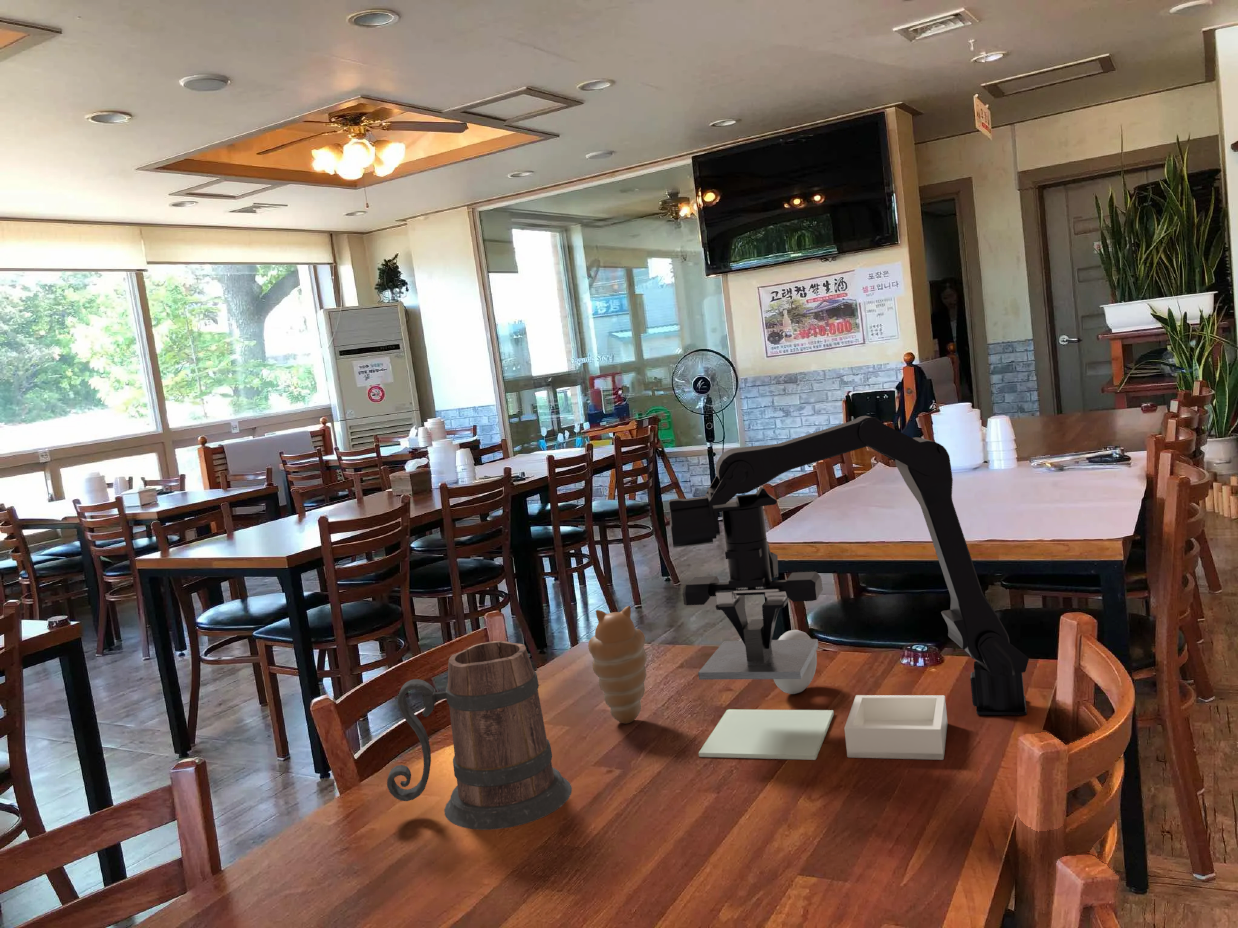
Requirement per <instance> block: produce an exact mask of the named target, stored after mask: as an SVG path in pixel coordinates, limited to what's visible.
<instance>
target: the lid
mask: <svg viewBox="0 0 1238 928" xmlns="http://www.w3.org/2000/svg"><path fill="white" fill-rule="evenodd" d="M743 631H744V639H745V645H744V643H743V641H742V640H724V641H723V642H722V643H720V645H719V646H718V647H717V649H716V650H715V651H714V652H713V653H712V655H711V656H710V657H709V659H707V661H706V663H704V664H703V666H702V667H701V668H700V670H699V671H698V672H697V674H698V675H697V676H698V680H700V681H701V680H703V681H704V680H773V679H801V678H802V676H803V674H804V672H805V670H806V669H807V667H808V665H809V663H810V661H811V659H812V657H813V655H814V653H815V651H816V652H817V649H818V647H819V641H818V640H819V639H817V638H811V639H802V640H778V639H772V642H771V646H770V648H769V649H766V645H765V640H764V627H763V618H757V619H756V618H755V619H754V618H753V619H750V621H749V622H748V625H747V626H746V627H745V628H744V630H743Z"/></svg>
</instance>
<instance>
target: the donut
mask: <svg viewBox="0 0 1238 928" xmlns="http://www.w3.org/2000/svg"><path fill="white" fill-rule="evenodd" d="M802 639H812V638H811V637H810V636H809V635H808V634H807V632H804V631H801V630H798V629H792V630H788V631H785V632H784V633H782V635H780V636H779V638H778V639H777V640H802ZM817 657H818V654H817V650H816V651H815V653H814V655H813V657H812V659H811V661H810V663H809V665H808V667H807V669H806V670H805V672H804V674H803V676H802V678H801V679H772V680H773V682H774V684H775V685H776V686H777V688H778V689H779V690H780V691H781V692H783V693H786V694H790V695H796V694H799V693H802V692H803V691H804V690H805V689H807V688H808V687H809V685H811V683H812V681H813V679H814V676H815V673H816V669H817V665H818V661H817V660H818V659H817Z"/></svg>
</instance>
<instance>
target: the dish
mask: <svg viewBox="0 0 1238 928" xmlns="http://www.w3.org/2000/svg"><path fill="white" fill-rule="evenodd" d="M946 703H947V702H946V695H942V694H941V695H940V694H939V695H937V694H936V695H935V694H933V695H928V694H927V695H926V694H925V695H923V694H918V695H915V694H913V695H912V694H908V695H906V694H905V695H903V694H900V695H898V694H897V695H896V694H894V695H893V694H892V695H890V694H888V695H886V694H885V695H883V694H882V695H880V694H877V695H875V694H874V695H873V694H869V695H867V694H856V695H855V697H854V700H853V703H852V704H851V708H850V711H849V714H848V717H847V719H846V723H845V725H844V736H845V747H846V748H845V749H846V756H847V758H851V759H852V758H853V759H854V758H857V759H892V760H893V759H896V760H897V759H898V760H899V759H901V760H902V759H903V760H934V761H935V760H936V761H937V760H939V761H943V760H944V758H945V750H946V740H947V730H948V725H949V724H948V715H947V714H948V713H947V705H946Z"/></svg>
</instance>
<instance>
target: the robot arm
mask: <svg viewBox="0 0 1238 928" xmlns="http://www.w3.org/2000/svg"><path fill="white" fill-rule="evenodd" d="M867 447H868V448H870V449H872V450H873V451H875V452H877V453H879V454H880V455H883V456H884V457H887V458H888V459H890V460H892V461H894V462H895V466H896V468H897V470H898V472H899V473H900V475H901V477H902V479H903V481H904V483H905V484H906V486H907V488H908V489H909V491H910V492H911V494H912V495H913V496H914V498H915V499H916V501H917V502H918V504H919V505H920V509H921V511H922V515H923V517H924V520H925V523H926V526H927V529H928V532H929V536H930V539H931V541H932V544H933V547H934V550H935V553H936V556H937V559H938V563H939V566H940V568H941V572H942V574H943V578H944V581H945V584H946V587H947V589H948V592H949V597H950V608H949V609H947V610H942V611H941V612H940V613H941V615H942V618H943V619H944V621H945V623H946V625H947V630H948V631H947V632H948V633H947V636H948V638H949V639H951V641H953V642H954V643H956V645H958V646H959V647H960V648H961V649H962V650H964V651H965V652H966V653H967V654H968V655H969V656H970V658H971V659H973V660H975V661H973V671H972V672H970V679H969V680H970V689H971V690H970V691H971V701H972V706H974V707H976V708H975V709H976V714H977V716H978V715H981V716H1026V715H1027V713H1028V712H1027V698H1026V696H1025V688H1024V677H1023V673H1025V672H1026V671H1027V669H1028V664H1029V659H1030V658H1029V657H1028V655H1026V654H1025V653H1024V652H1023V651H1021V650H1020V649H1018V648H1017V647H1015V646H1014V645H1013V644H1011V643H1010V642H1011V641H1010V637H1009V634H1008V632H1007V630H1006V629H1005V626H1004V624H1003V623H1002V621H1001V619H1000V617H999V616H998V614H997V612H996V611H995V609H994V608H993V606H992V605H991V603H990V602H989V601H988V599H987V598H986V596H985V594H984V592H983V590H982V587H981V584H980V580H979V578H978V574H977V571H976V569H975V568H976V567H975V565H974V563H973V559H972V556H971V554H970V550H969V547H968V544H967V541H966V538H965V535H964V533H963V529H962V527H961V523H960V520H959V517H958V515H957V514H958V513H957V511H956V508H955V506H954V502H953V485H954V483H953V481H954V479H953V472H952V465H951V458H950V454H949V452H948V451H947V448H945V446H944V445H942V444H940V443H939V442H936V441H934V440H930V439H926V438H922V437H911V436H908V435H907V434H904V433H902V432H901V431H899V430H897V429H894V428H893V427H890V426H888V425H887V424H885V423H883V421H881V420H880V419H878V418H877V417H872V416H869V415H862V416H859V417H856V418H855V419H853V420H850V421H847V422H844V423H841V424H838V425H834V426H831V427H828V428H825V429H822V430H819V431H815V432H812V433H809V434H806V435H801V436H798V437H796V438H792V439H788V440H786V441H782V442H779V443H774V444H773V443H772V444H762V445H752V446H743V447H735V448H730V449H728V450H725V451H724V452H723V453H721V454H720V456H719V457H718V459H717V461H716V464H715V465H716V466H715V474H716V476H715V477H714V479H713V481H712V483H711V484H710V485H709V487H708V488H707V491H706V493H705V495H704V496H698V497H690V498H670V499H669V500H668V506H669V514H670V520H669V527H670V534H671V542H672V548H673V549H680V548H687V547H688V548H689V547H697V546H704V545H711V544H714V539H717V537H719V536H720V535H721V529H720V521H719V513H720V512H721V516H722V525H723V532H724V539H725V542H724V543H725V547H726V548H725V549H726V551H724V554H725V559H726V560H727V565H728V574H729V580H728V582H720V579H719V578H718V576H717V575H714V576H713V575H712V576H711V575H710V576H694V577H693V578H692V579H691V580H690V581H689V582H687V583H686V584H685V586H684V587H683V588H682V597H683V604H684V605H685V606H702V605H705V604H707V602H708V601H709V600H710V599H711V597H715V598H716V605H715V610H716V611H722V612H723V614H724V615H725V616H726V618H727V619H728V621H730V623H731V624H732V626H733V628H734V629H735V631H736V633H737V634H738V635H739V637H740V639H741V641H743V643H744V645H745V639H744V631H743V630H744V628H745V627H746V626H747V625H748V623H749V622H748V617H747V612H746V596H757V595H759V596H760V595H763V596H765V598H766V600H765V601H764V602H763V604H762V605H761V610H762V619H763V627H764V640H765V645H766V649H769V648H770V646H771V642H772V640H773V637H774V631H775V627H776V623H777V617H778V615H779V612H780V609H783V608H785V606H787V604H788V603H789V600H790V601H792V602H793V603H796V602H813V601H817V600H818V598H819V597H820V595H821V593H822V592H823V582H822V577H821V575H820V574H819V573H818V572H817V571H804V572H803V571H800V572H799V571H798V572H791V573H790V575H789V576H788V578H787V579H781V580H780V579H779V580H778V579H776V580H772V579H774V578H778V577H779V561H778V560H779V559H778V554H776V553H775V552H772V551H771V550H770V544H769V541H768V540H767V539H768V537H767V532H766V531H767V530H766V529H767V528H766V522H765V513H764V507H766V506H767V507H768V506H775V505H777V503H778V500H777V499H776V498H775V497H774V496H773V495H771V494H769V493H768V492H767V490H766V489H765V488H764V487H763V486H764V485H766V484H767V483H770V482H771V481H773V480H774V479H776V478H777V477H779V476H781V475H782V474H785V473H786V472H788V471H791V470H794V469H798V468H801V467H804V466H807V465H808V466H809V465H811V464H814V463H817V462H821V461H825V460H827V459H831V458H834V457H837V456H840V455H843V454H846V453H850V452H853V451H854V452H855V451H856V450H860V449H863V448H867ZM758 488H759V489H758ZM756 489H758V490H757V492H755V493H749V492H752V491H754V490H756ZM748 493H749V494H748ZM734 497H735V501H733V502H730V501H731V500H732V499H733V498H734Z"/></svg>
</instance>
